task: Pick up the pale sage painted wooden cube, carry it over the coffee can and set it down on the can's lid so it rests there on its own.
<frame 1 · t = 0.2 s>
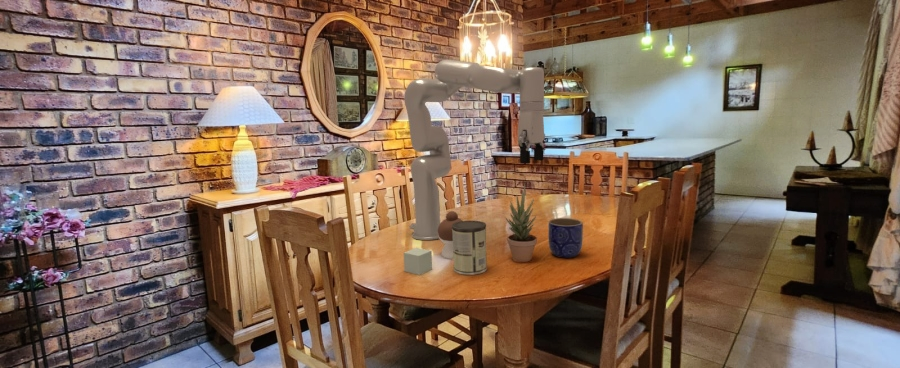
hand: (532, 161, 146), 31 cm above the table, fingers open, 9 cm apart
coffee can: (470, 269, 138), on the table
planter: (565, 255, 149), on the table
potted plant: (522, 259, 147), on the table
sage block: (418, 270, 139), on the table
figurine: (452, 255, 153), on the table
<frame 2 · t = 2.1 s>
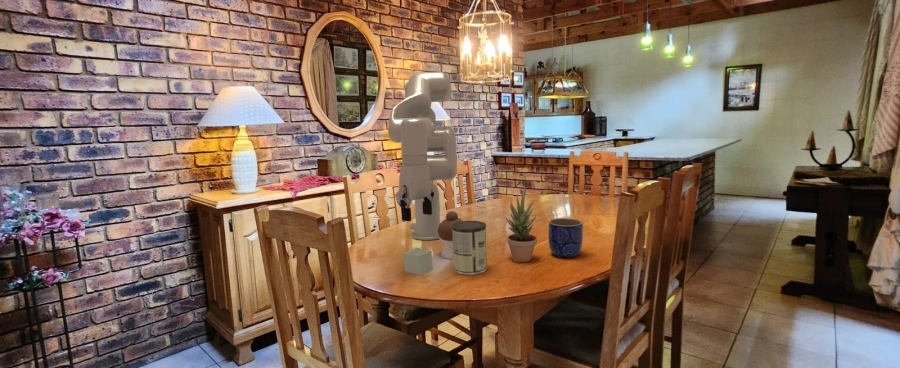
hand: (417, 217, 136), 17 cm above the table, fingers open, 9 cm apart
nothing on the table moved.
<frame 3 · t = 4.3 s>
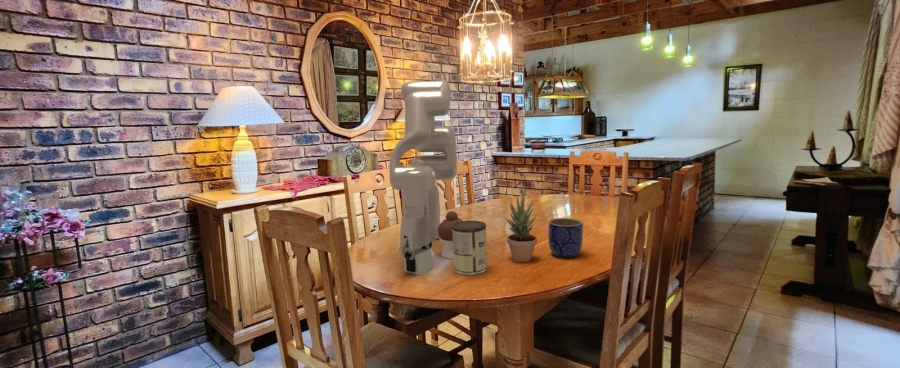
hand: (418, 267, 139), 1 cm above the table, fingers closed on sage block, 6 cm apart
sage block: (418, 270, 139), on the table, touching gripper
everything else where it was.
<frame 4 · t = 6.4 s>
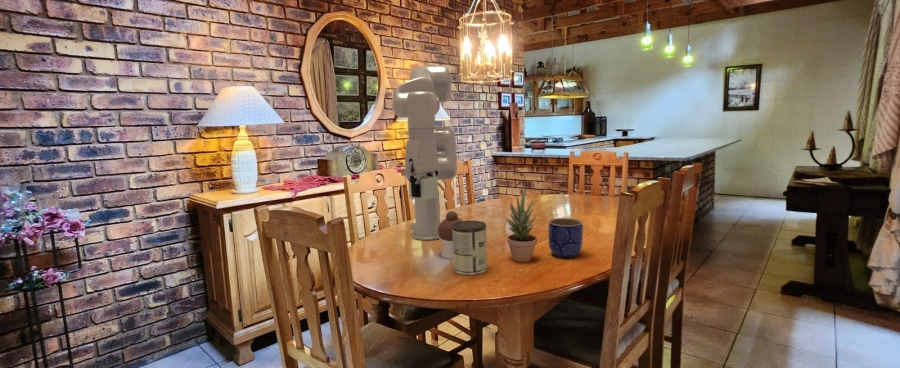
hand: (423, 194, 135), 23 cm above the table, fingers closed on sage block, 6 cm apart
sage block: (423, 197, 135), point 23 cm above the table, touching gripper
everything else where it was.
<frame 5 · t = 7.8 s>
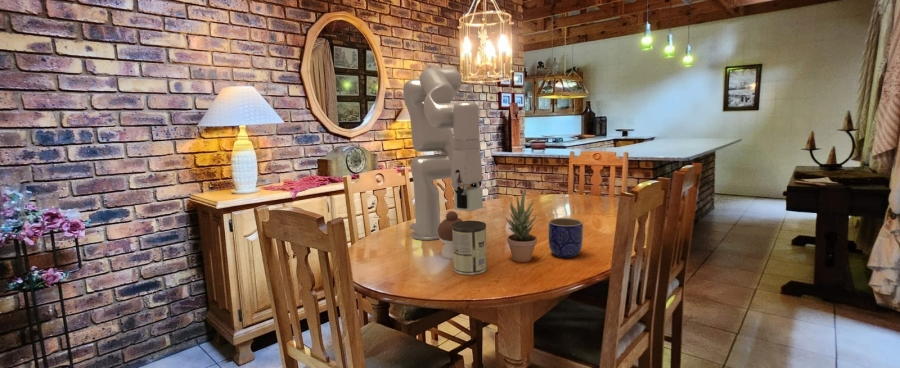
hand: (468, 205, 135), 20 cm above the table, fingers closed on sage block, 6 cm apart
sage block: (468, 208, 135), point 19 cm above the table, touching gripper
everything else where it was.
when the fingers open (16 cm above the table, at t = 8.9 s): sage block drops 1 cm, resting on coffee can.
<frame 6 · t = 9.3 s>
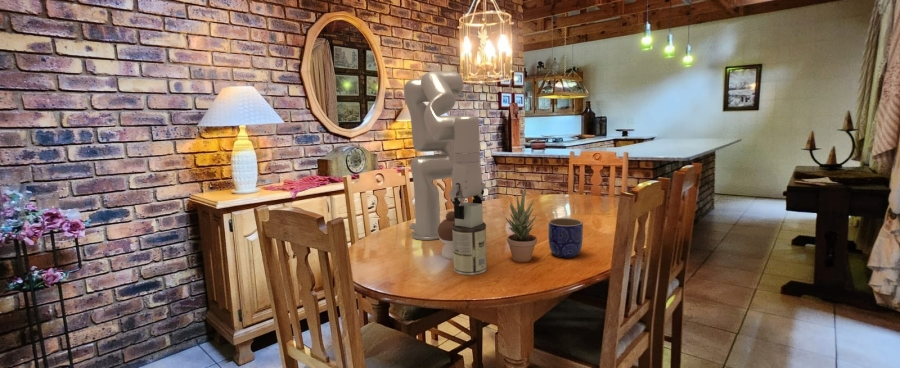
hand: (468, 215, 136), 17 cm above the table, fingers open, 9 cm apart
coffee can: (470, 270, 138), on the table, touching sage block
sage block: (468, 224, 136), point 14 cm above the table, touching coffee can
everything else where it was.
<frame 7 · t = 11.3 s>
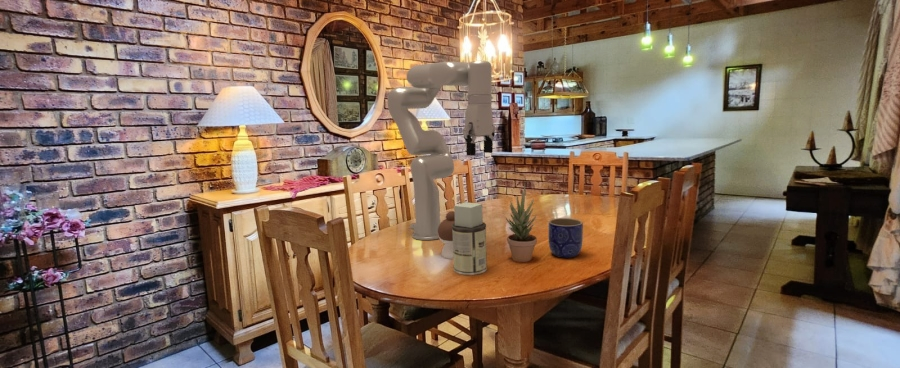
hand: (479, 153, 149), 34 cm above the table, fingers open, 9 cm apart
nothing on the table moved.
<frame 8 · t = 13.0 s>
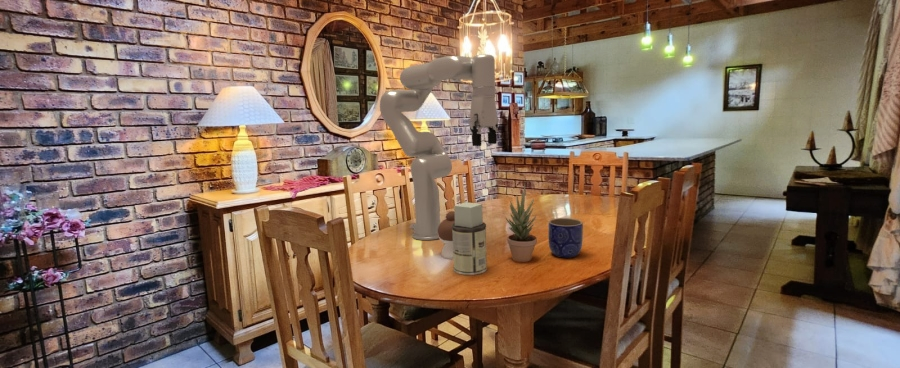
hand: (484, 144, 154), 36 cm above the table, fingers open, 9 cm apart
nothing on the table moved.
at the end: sage block inside the target area on the coffee can (0.1 cm from its centre), point 14.3 cm above the coffee can's base; sage block tilted 0°; the gripper is holding nothing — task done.
